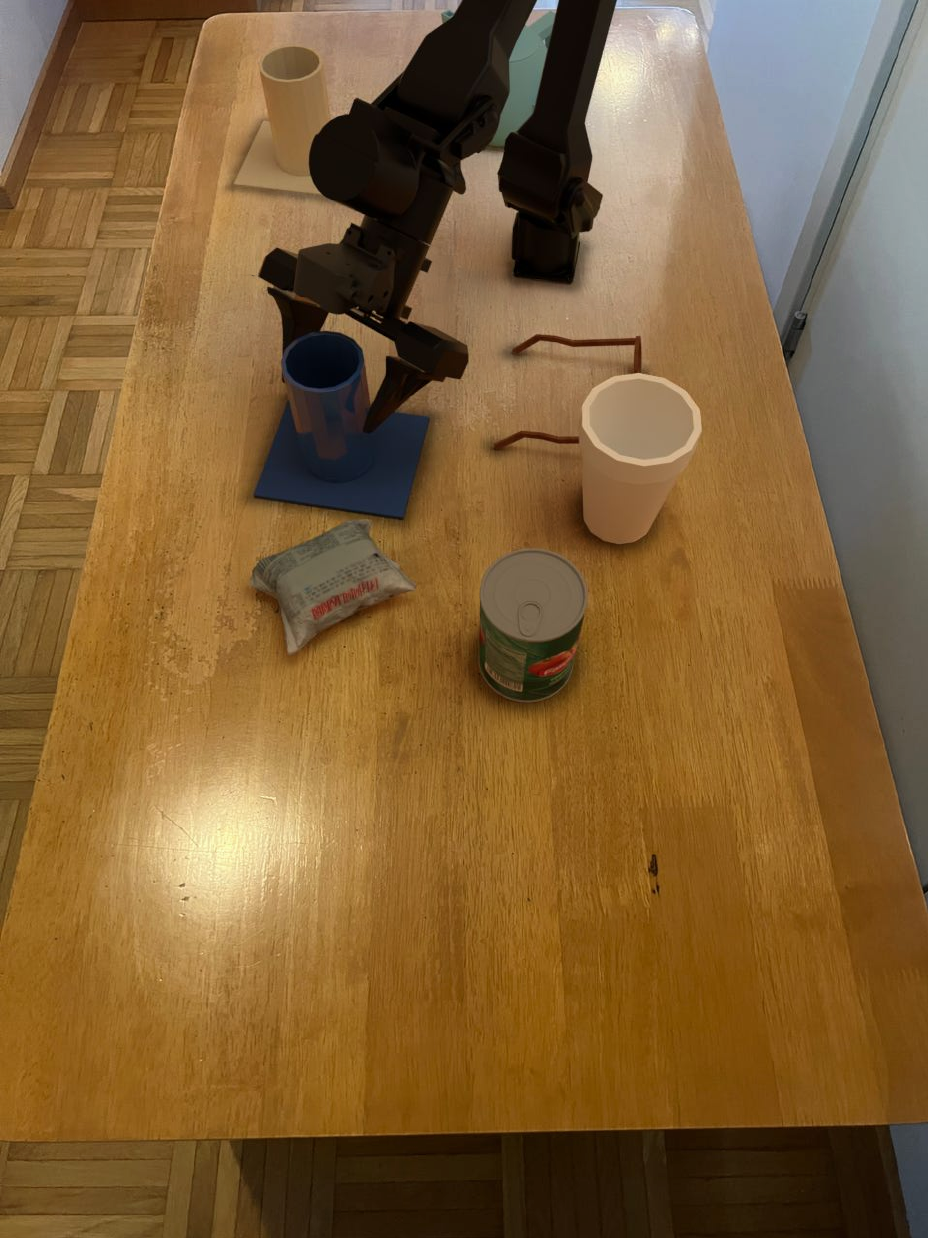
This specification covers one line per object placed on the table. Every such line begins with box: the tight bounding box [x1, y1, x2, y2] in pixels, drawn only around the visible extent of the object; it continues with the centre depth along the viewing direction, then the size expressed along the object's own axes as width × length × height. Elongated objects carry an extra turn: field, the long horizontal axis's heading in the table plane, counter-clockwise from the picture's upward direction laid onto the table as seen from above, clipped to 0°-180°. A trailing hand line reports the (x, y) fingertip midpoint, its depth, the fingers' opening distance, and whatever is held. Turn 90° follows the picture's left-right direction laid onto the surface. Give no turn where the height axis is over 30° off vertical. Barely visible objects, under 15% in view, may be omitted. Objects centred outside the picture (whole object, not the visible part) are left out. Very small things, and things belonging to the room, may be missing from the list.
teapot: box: [440, 9, 556, 148], centre depth 108 cm, size 15×15×11 cm
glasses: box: [493, 333, 643, 451], centre depth 88 cm, size 13×13×5 cm
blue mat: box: [253, 398, 431, 520], centre depth 87 cm, size 14×12×1 cm
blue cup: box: [280, 330, 376, 483], centre depth 82 cm, size 7×7×12 cm
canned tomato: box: [477, 547, 589, 704], centre depth 72 cm, size 8×8×11 cm
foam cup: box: [578, 372, 703, 545], centre depth 78 cm, size 10×9×13 cm
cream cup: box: [258, 43, 332, 176], centre depth 104 cm, size 7×7×11 cm
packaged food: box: [249, 518, 417, 656], centre depth 78 cm, size 9×12×5 cm
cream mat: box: [233, 120, 322, 195], centre depth 109 cm, size 14×12×1 cm
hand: (325, 407), depth 80 cm, fingers open, 9 cm apart
